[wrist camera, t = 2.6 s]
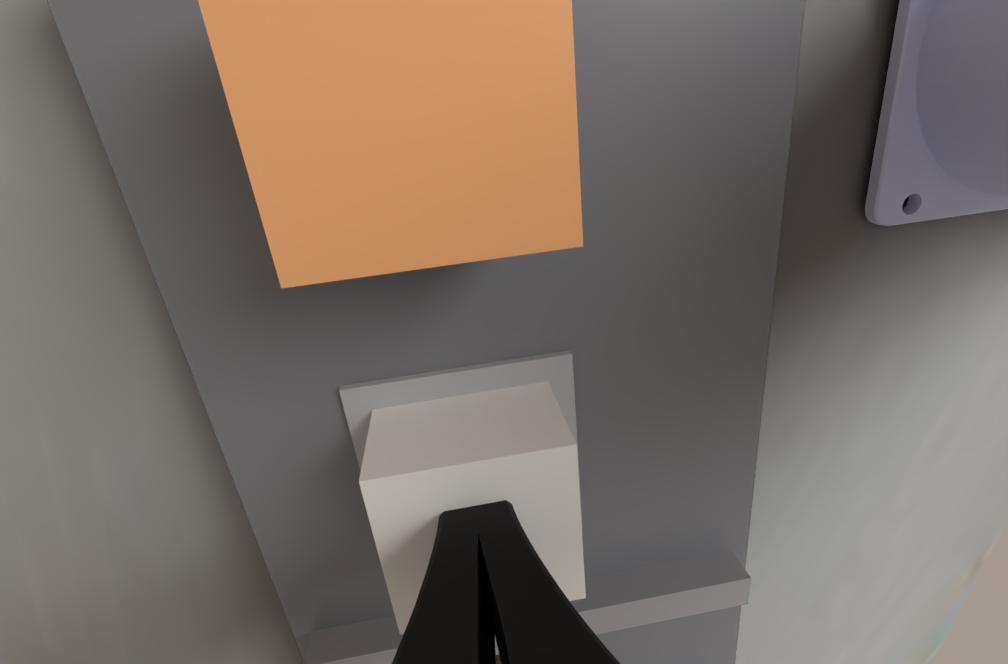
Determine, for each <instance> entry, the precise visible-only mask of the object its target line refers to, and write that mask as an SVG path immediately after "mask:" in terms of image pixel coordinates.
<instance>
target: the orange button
mask: <svg viewBox="0 0 1008 664" xmlns="http://www.w3.org/2000/svg"><path fill="white" fill-rule="evenodd" d="M198 2H199V6H200V9H201V13H202V16H203V20H204V23H205V27H206V30H207V33H208V37H209V40H210V44H211V47H212V51H213V54H214V58H215V61H216V65H217V68H218V71H219V75H220V78H221V82H222V85H223V89H224V92H225V96H226V99H227V103H228V106H229V109H230V113H231V116H232V120H233V123H234V127H235V130H236V134H237V137H238V140H239V144H240V147H241V151H242V154H243V158H244V161H245V165H246V168H247V172H248V175H249V178H250V182H251V185H252V189H253V192H254V196H255V199H256V203H257V206H258V210H259V213H260V216H261V220H262V223H263V227H264V230H265V234H266V237H267V241H268V244H269V247H270V251H271V254H272V258H273V261H274V265H275V268H276V272H277V275H278V279H279V282H280V285H281V288H288V287H296V286H303V285H310V284H317V283H324V282H331V281H339V280H346V279H353V278H360V277H367V276H375V275H382V274H389V273H396V272H403V271H410V270H418V269H425V268H432V267H439V266H446V265H453V264H461V263H468V262H475V261H482V260H489V259H497V258H504V257H511V256H518V255H525V254H532V253H540V252H547V251H554V250H561V249H568V248H575V247H583V230H582V208H581V187H580V165H579V143H578V122H577V100H576V78H575V57H574V35H573V13H572V0H198Z"/></svg>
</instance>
